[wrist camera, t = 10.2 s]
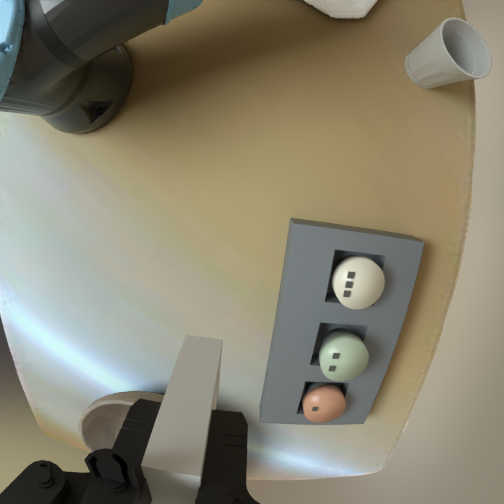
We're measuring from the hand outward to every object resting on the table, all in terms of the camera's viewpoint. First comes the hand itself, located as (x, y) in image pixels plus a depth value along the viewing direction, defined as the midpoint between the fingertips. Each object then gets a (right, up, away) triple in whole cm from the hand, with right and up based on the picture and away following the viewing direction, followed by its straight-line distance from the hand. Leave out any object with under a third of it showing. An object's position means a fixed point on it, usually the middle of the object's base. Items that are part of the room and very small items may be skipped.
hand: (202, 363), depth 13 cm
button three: (+15, +2, +28) cm, 32 cm away
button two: (+14, -8, +29) cm, 33 cm away
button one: (+13, -17, +34) cm, 40 cm away
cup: (+27, +31, +22) cm, 47 cm away
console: (+14, -7, +32) cm, 36 cm away
